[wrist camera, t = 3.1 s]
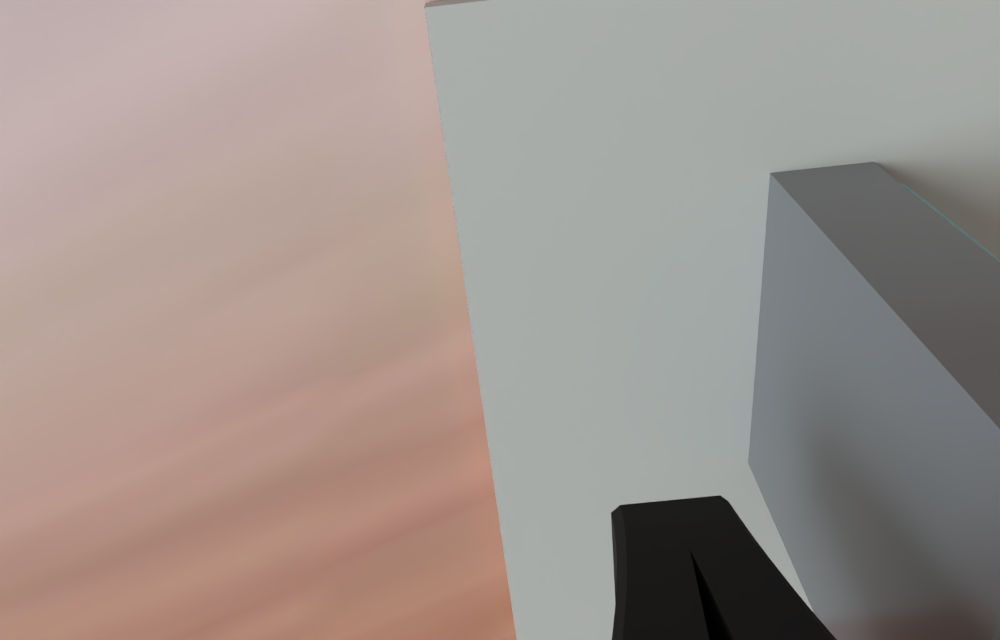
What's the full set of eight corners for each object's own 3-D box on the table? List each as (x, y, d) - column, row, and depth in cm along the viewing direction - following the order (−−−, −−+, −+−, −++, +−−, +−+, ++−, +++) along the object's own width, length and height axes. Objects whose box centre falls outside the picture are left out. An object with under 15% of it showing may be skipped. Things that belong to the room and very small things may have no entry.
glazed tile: (748, 463, 15) (920, 855, 9) (769, 172, 12) (1046, 480, 6) (850, 453, 15) (1089, 841, 9) (899, 158, 12) (1301, 456, 6)
